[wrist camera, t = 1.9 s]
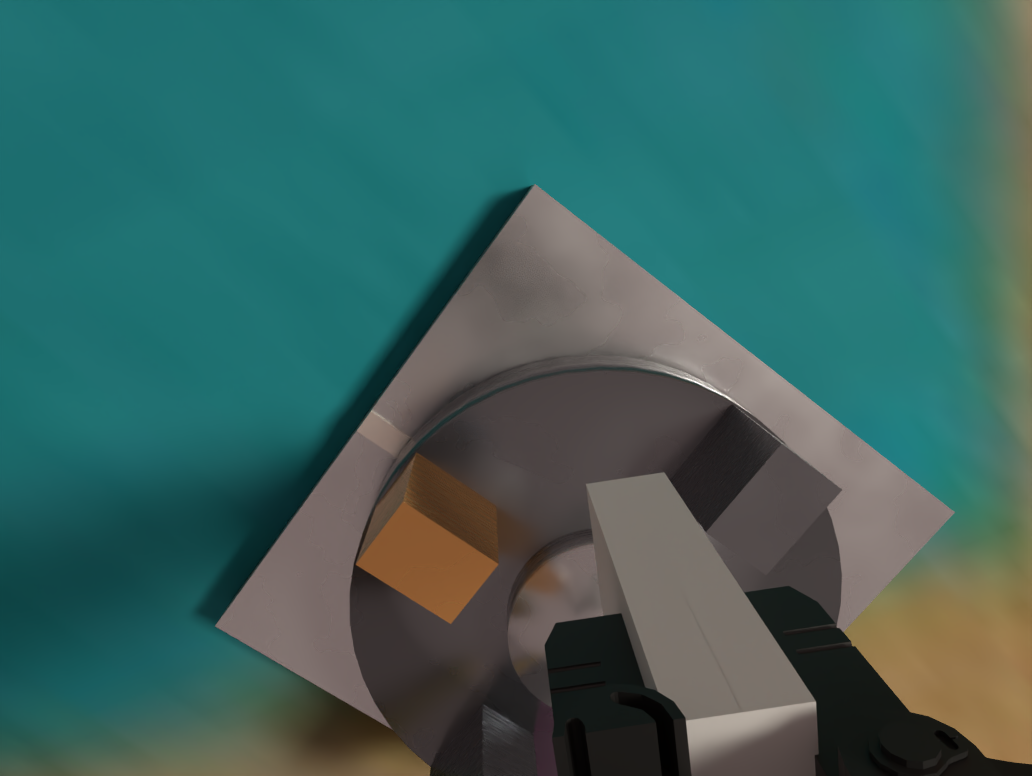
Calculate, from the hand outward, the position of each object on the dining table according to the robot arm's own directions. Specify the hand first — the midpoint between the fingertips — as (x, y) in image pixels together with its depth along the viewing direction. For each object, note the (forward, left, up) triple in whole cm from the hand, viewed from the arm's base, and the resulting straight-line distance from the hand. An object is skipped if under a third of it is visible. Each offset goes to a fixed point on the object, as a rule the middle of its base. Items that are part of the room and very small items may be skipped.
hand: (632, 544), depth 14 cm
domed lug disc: (+4, -4, -9) cm, 11 cm away
